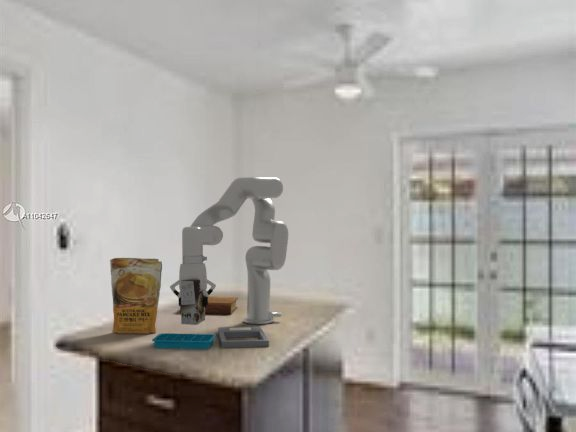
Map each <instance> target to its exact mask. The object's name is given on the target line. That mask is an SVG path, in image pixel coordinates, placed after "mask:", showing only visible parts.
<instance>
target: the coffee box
mask: <svg viewBox="0 0 576 432" xmlns="http://www.w3.org/2000/svg"><path fill="white" fill-rule="evenodd" d="M180 317H181V318H180V320H181V321H180V324H181V325H190V326H197V325H199V324H201V323H203V322H205V321H206V314H205V307H204V293H203V292H202V291H201V289H200V280H182V281H181V313H180Z"/></svg>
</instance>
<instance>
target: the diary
mask: <svg viewBox="0 0 576 432" xmlns="http://www.w3.org/2000/svg"><path fill="white" fill-rule="evenodd" d="M237 300H239V298H238V297H237V296H210V295H209V296H208V305H206V308H205V315H230V316H231V315H232V314H234V312H236V310H238V307H239V306H237ZM179 310H180V311H179V312H180V314H181V306H179Z"/></svg>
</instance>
